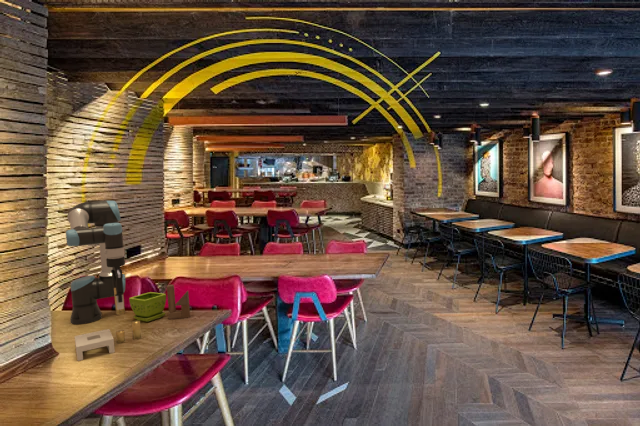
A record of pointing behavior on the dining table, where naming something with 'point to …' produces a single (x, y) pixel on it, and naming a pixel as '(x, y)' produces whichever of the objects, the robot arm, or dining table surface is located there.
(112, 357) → the dining table surface
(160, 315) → the flower pot
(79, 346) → the white block with hole
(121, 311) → the pin long
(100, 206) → the robot arm
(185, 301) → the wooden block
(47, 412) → the dining table surface
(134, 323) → the pin medium
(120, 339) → the pin short
